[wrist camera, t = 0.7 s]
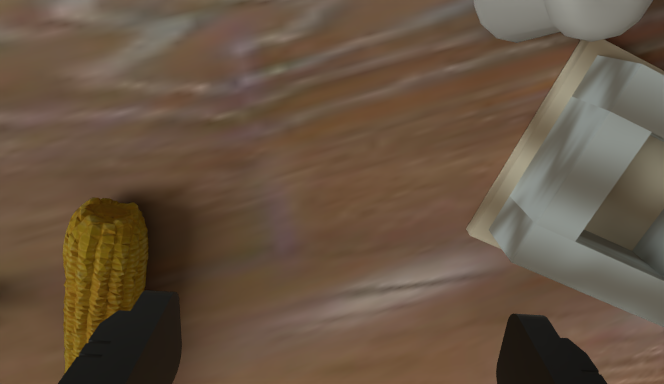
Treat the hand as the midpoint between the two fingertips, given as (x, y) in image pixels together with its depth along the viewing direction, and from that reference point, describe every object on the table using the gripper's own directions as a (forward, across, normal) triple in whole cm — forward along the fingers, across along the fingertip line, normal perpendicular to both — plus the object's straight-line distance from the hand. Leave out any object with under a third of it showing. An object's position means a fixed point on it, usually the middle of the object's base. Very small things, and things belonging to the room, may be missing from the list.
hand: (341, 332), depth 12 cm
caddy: (+25, -21, +4) cm, 33 cm away
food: (+25, +17, +18) cm, 35 cm away
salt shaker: (+26, -11, -8) cm, 29 cm away
